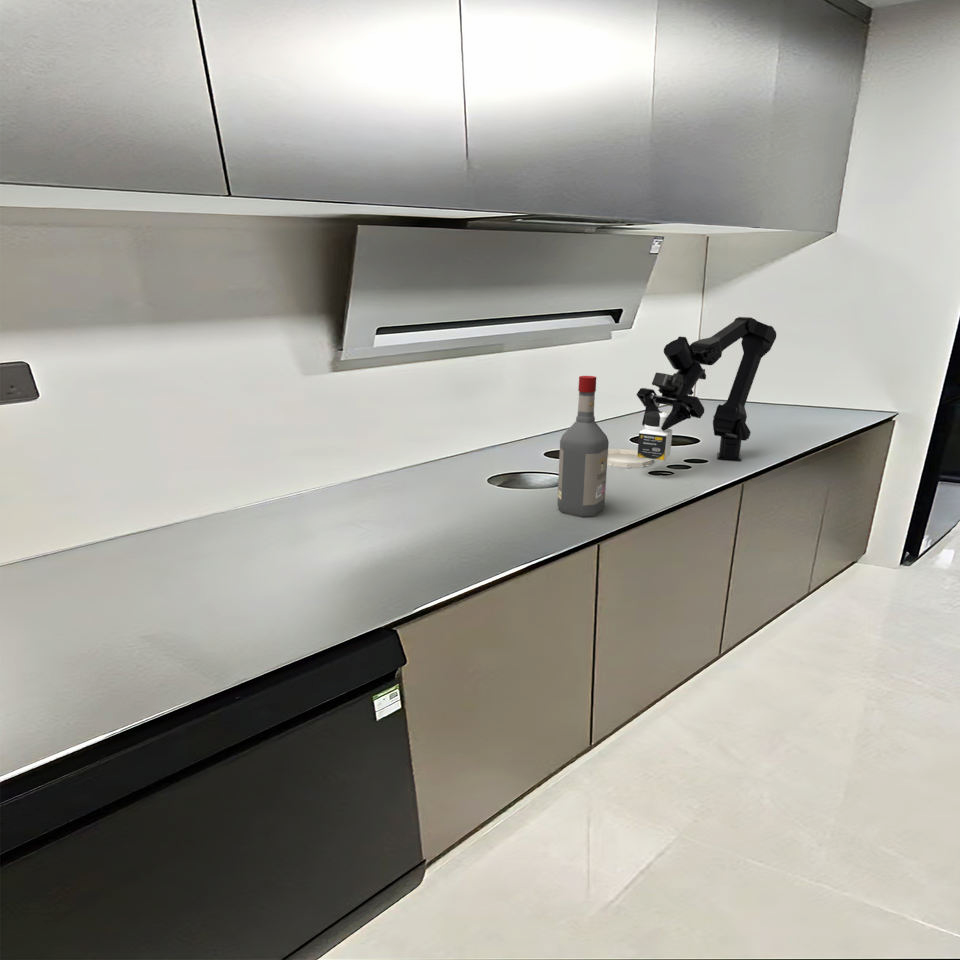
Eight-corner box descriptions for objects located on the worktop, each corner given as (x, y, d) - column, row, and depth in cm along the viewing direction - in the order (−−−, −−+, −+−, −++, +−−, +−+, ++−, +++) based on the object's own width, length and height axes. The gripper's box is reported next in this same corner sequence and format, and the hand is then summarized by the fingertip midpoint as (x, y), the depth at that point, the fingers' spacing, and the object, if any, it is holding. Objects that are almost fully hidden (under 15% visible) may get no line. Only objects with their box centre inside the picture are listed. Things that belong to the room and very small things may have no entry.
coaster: (599, 451, 201) (600, 447, 201) (654, 456, 196) (654, 451, 196) (591, 465, 187) (591, 459, 186) (649, 470, 182) (649, 465, 181)
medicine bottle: (636, 458, 174) (640, 413, 171) (643, 452, 180) (647, 408, 177) (664, 461, 171) (668, 415, 167) (670, 455, 177) (674, 411, 173)
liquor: (607, 508, 151) (616, 376, 142) (590, 519, 144) (598, 381, 135) (571, 500, 156) (578, 372, 147) (553, 511, 149) (558, 377, 140)
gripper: (643, 357, 178) (612, 402, 175) (701, 364, 163) (668, 414, 160) (661, 384, 184) (630, 428, 182) (718, 393, 170) (686, 441, 167)
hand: (652, 427), depth 172 cm, fingers closed on medicine bottle, 6 cm apart
